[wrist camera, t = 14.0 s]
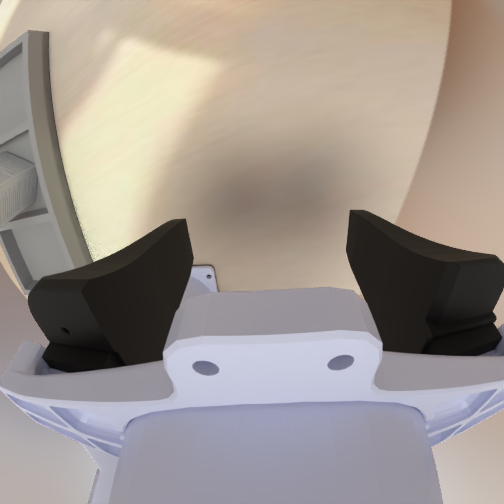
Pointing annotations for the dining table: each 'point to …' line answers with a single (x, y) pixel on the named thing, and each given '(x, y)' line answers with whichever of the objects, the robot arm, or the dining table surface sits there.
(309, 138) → the dining table surface
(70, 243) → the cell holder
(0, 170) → the skincare box
